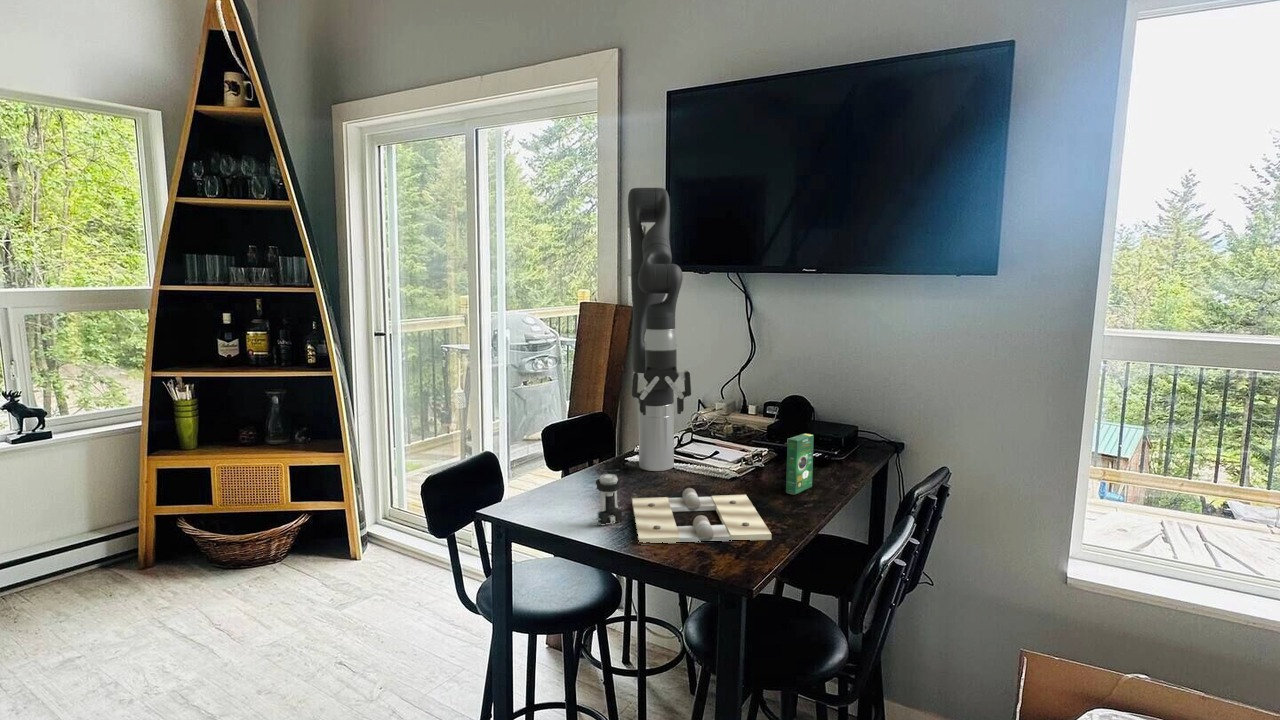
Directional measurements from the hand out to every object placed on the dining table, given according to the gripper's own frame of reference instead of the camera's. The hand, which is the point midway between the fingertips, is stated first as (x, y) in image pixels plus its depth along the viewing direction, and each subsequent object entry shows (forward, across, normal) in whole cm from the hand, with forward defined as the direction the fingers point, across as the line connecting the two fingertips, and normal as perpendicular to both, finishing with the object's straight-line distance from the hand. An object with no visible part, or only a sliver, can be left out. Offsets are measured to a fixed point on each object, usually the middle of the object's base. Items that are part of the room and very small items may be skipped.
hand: (661, 414), depth 171 cm
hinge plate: (+18, -5, +25) cm, 31 cm away
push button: (+18, +14, +25) cm, 34 cm away
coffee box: (+18, -32, +8) cm, 37 cm away
